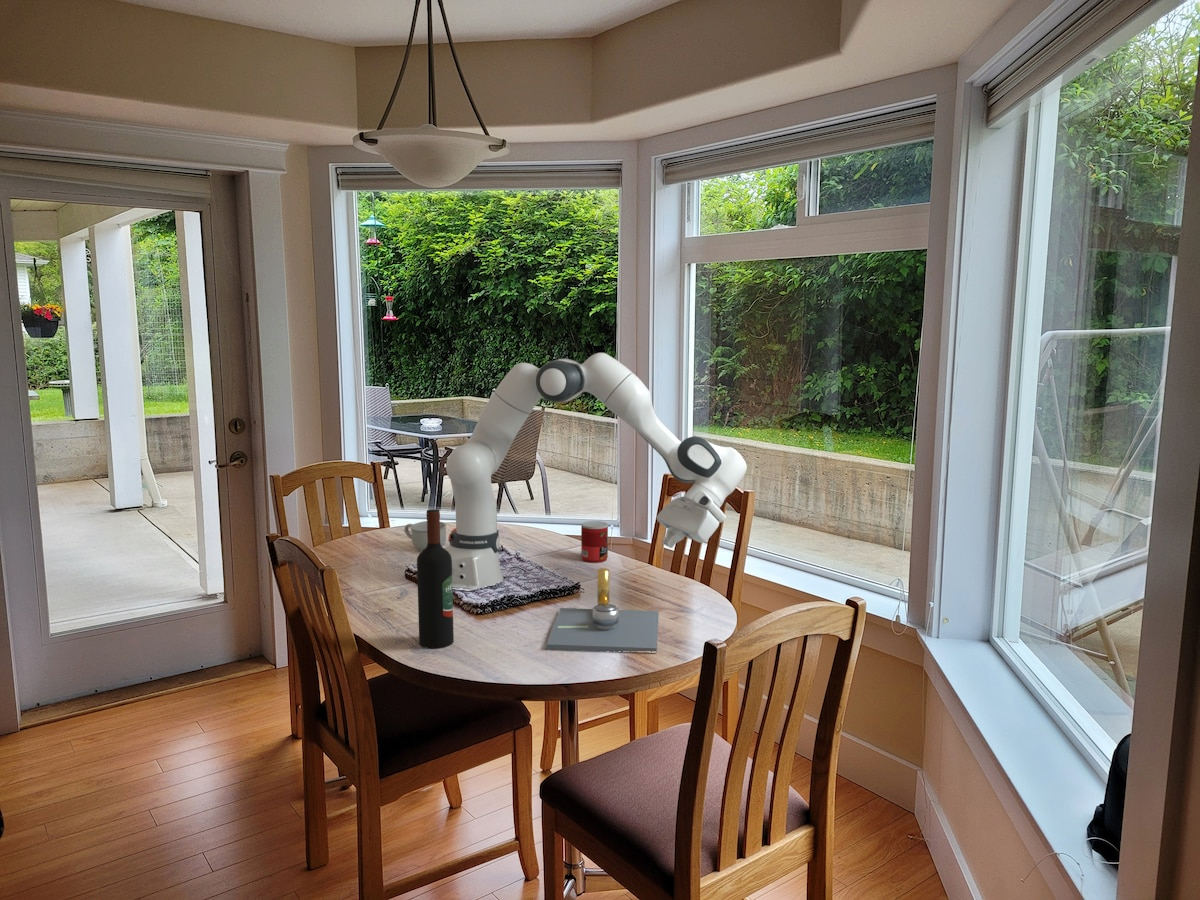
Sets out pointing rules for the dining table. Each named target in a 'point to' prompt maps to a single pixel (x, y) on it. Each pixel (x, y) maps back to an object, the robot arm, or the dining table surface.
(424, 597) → the wine bottle
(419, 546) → the teacup
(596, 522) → the canned food
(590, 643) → the base
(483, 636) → the dining table surface
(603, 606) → the door handle
